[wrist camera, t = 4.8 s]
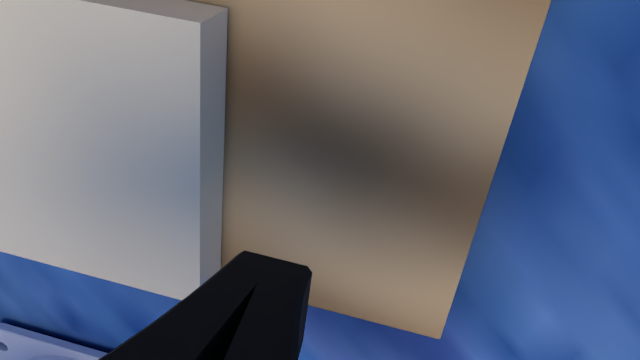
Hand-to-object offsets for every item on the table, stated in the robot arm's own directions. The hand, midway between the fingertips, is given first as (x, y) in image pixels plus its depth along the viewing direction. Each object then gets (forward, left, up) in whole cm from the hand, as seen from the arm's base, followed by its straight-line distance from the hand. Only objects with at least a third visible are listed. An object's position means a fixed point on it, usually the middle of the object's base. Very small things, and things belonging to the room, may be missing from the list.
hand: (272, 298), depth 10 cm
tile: (0, +3, -4) cm, 5 cm away
